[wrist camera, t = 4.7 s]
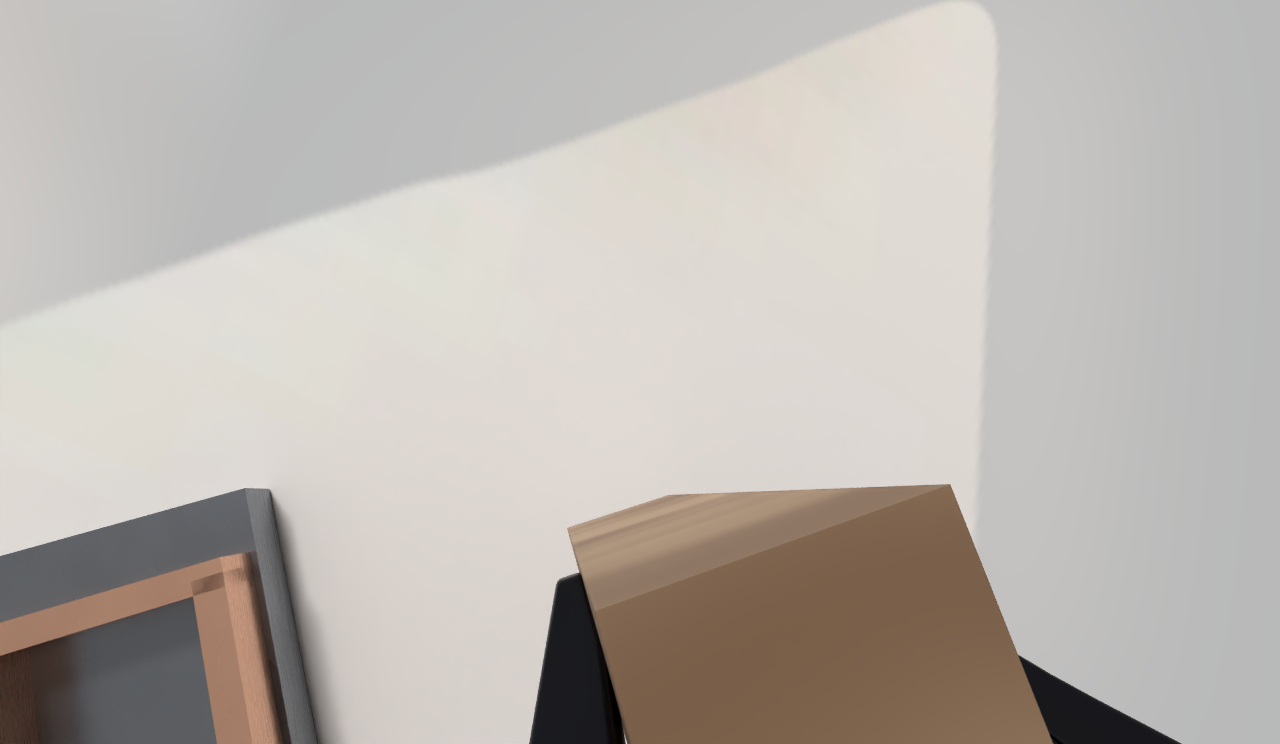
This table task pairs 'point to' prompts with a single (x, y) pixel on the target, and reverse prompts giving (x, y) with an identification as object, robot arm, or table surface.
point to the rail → (155, 633)
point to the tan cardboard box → (803, 621)
